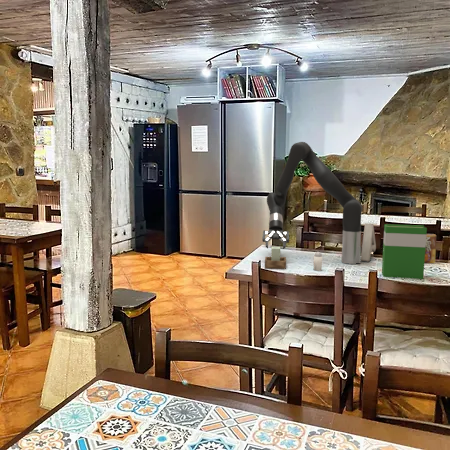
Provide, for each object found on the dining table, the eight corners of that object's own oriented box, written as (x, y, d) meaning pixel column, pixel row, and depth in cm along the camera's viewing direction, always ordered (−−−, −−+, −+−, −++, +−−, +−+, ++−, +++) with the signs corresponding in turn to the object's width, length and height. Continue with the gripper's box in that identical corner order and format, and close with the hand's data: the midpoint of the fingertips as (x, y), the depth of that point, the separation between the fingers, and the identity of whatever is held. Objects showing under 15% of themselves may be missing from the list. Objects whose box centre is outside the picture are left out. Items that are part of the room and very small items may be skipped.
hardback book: (420, 275, 217) (423, 225, 213) (423, 279, 210) (426, 228, 206) (381, 272, 221) (384, 224, 217) (383, 276, 214) (386, 226, 210)
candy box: (432, 261, 244) (434, 233, 242) (435, 263, 240) (437, 235, 238) (415, 261, 246) (417, 233, 243) (417, 262, 241) (419, 234, 239)
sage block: (279, 264, 235) (280, 247, 233) (280, 266, 230) (280, 248, 229) (271, 263, 235) (271, 246, 234) (271, 265, 231) (271, 248, 229)
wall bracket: (372, 280, 267) (368, 260, 242) (364, 279, 268) (360, 259, 244) (376, 246, 275) (373, 223, 251) (368, 246, 277) (365, 223, 252)
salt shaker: (321, 268, 228) (321, 251, 227) (321, 270, 224) (322, 252, 223) (313, 268, 229) (313, 251, 227) (313, 270, 225) (314, 252, 223)
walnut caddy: (285, 264, 237) (285, 257, 236) (286, 269, 227) (286, 261, 227) (265, 264, 238) (265, 256, 237) (264, 268, 229) (265, 260, 228)
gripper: (262, 218, 246) (262, 243, 236) (289, 219, 245) (289, 244, 235) (262, 227, 252) (262, 251, 243) (288, 227, 251) (288, 252, 241)
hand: (275, 247), depth 239 cm, fingers open, 8 cm apart
